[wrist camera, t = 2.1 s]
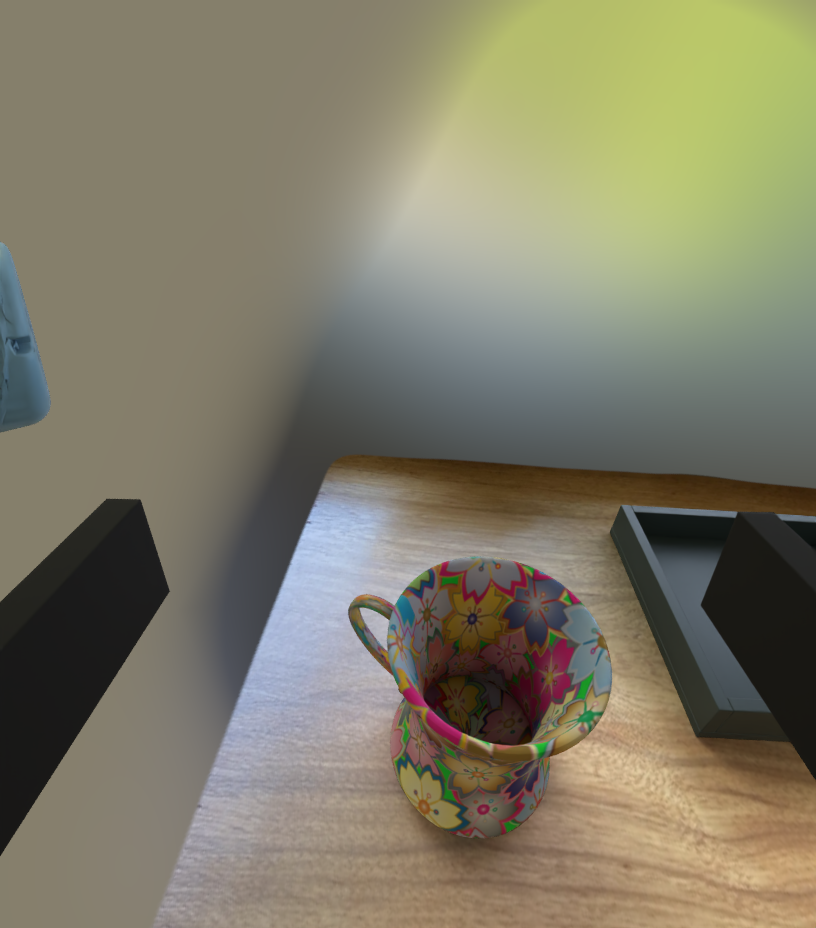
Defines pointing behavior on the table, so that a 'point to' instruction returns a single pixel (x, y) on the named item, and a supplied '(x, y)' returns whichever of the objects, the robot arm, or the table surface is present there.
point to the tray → (694, 613)
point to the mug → (486, 688)
